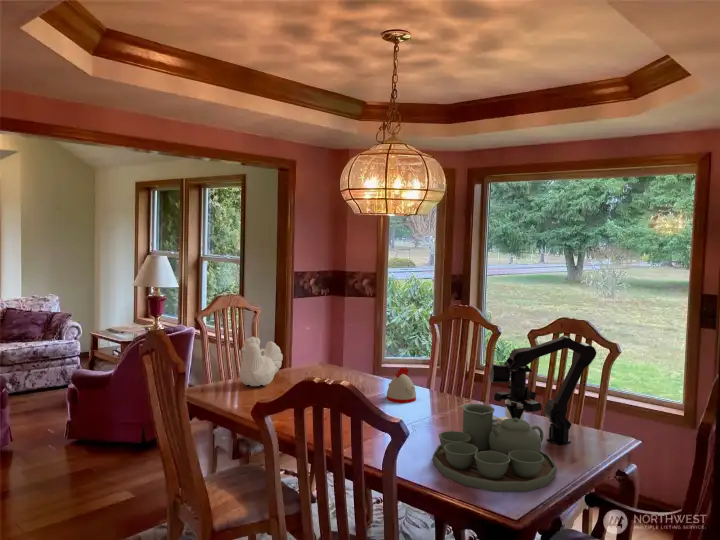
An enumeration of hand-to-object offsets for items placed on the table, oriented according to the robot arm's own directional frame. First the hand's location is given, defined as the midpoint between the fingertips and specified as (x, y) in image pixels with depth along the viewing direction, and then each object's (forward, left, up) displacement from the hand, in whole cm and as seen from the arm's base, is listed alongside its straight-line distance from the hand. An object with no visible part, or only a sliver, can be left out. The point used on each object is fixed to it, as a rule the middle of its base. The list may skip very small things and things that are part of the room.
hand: (516, 423), depth 225 cm
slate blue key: (+12, 0, -4) cm, 12 cm away
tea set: (-14, +26, -7) cm, 31 cm away
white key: (+6, 0, -3) cm, 6 cm away
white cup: (+13, -14, -7) cm, 21 cm away
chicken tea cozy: (+67, +3, -7) cm, 68 cm away
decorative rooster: (+121, +49, -7) cm, 131 cm away
